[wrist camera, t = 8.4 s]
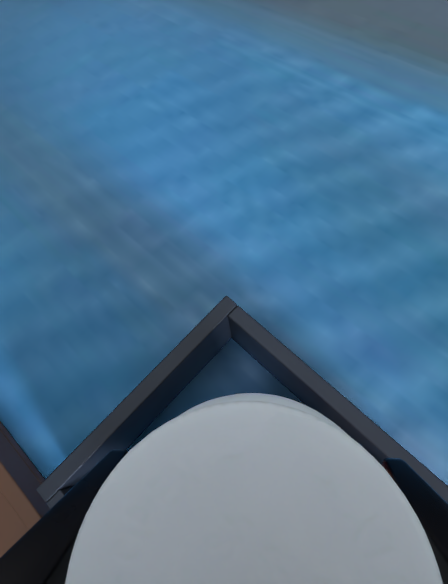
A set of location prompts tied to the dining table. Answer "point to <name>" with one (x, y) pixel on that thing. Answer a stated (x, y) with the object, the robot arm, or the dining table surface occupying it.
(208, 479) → the pill bottle
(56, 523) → the robot arm
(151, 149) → the dining table surface
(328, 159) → the dining table surface
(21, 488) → the tray
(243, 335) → the tray
